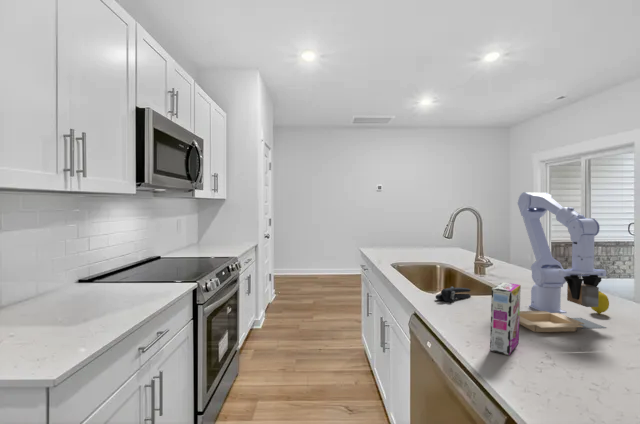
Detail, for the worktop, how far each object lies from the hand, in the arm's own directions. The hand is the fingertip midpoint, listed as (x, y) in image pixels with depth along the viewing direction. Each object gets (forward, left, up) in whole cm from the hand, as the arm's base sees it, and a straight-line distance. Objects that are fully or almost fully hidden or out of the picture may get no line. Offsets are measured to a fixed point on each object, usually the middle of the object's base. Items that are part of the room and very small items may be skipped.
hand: (581, 298), depth 118 cm
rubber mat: (0, 0, -8) cm, 8 cm away
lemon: (-10, +15, -8) cm, 20 cm away
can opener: (-33, -26, -9) cm, 43 cm away
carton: (+1, -14, -8) cm, 16 cm away
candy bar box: (+17, -36, -8) cm, 41 cm away
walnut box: (0, 0, -2) cm, 2 cm away
